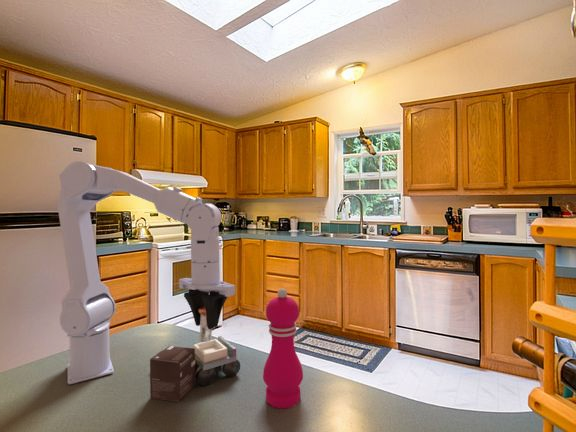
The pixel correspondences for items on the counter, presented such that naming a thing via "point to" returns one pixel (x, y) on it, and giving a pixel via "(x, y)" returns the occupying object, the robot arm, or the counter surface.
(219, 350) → the tray
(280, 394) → the pepper mill
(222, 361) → the trolley
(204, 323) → the pin
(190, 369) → the box
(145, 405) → the counter surface
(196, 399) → the counter surface
